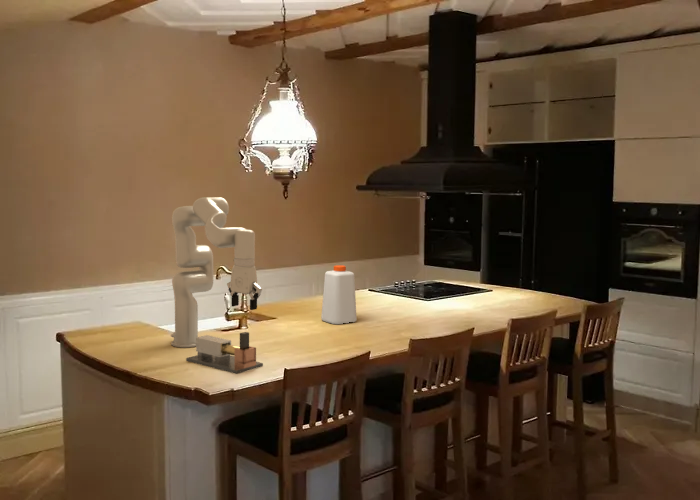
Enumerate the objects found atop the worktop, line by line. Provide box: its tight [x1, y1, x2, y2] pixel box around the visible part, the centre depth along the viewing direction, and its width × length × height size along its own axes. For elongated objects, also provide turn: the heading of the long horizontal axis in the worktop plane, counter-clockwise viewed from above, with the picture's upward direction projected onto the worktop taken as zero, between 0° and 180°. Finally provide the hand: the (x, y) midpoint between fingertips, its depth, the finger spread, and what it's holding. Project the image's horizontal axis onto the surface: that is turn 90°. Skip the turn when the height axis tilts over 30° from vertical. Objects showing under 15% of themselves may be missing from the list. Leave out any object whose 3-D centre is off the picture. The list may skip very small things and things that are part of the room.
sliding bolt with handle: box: [222, 331, 250, 356], centre depth 282 cm, size 17×4×10 cm, turn 53°
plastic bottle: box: [321, 264, 357, 325], centre depth 367 cm, size 15×15×28 cm
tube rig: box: [185, 334, 264, 375], centre depth 285 cm, size 28×14×9 cm, turn 53°
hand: (244, 307), depth 277 cm, fingers open, 9 cm apart
